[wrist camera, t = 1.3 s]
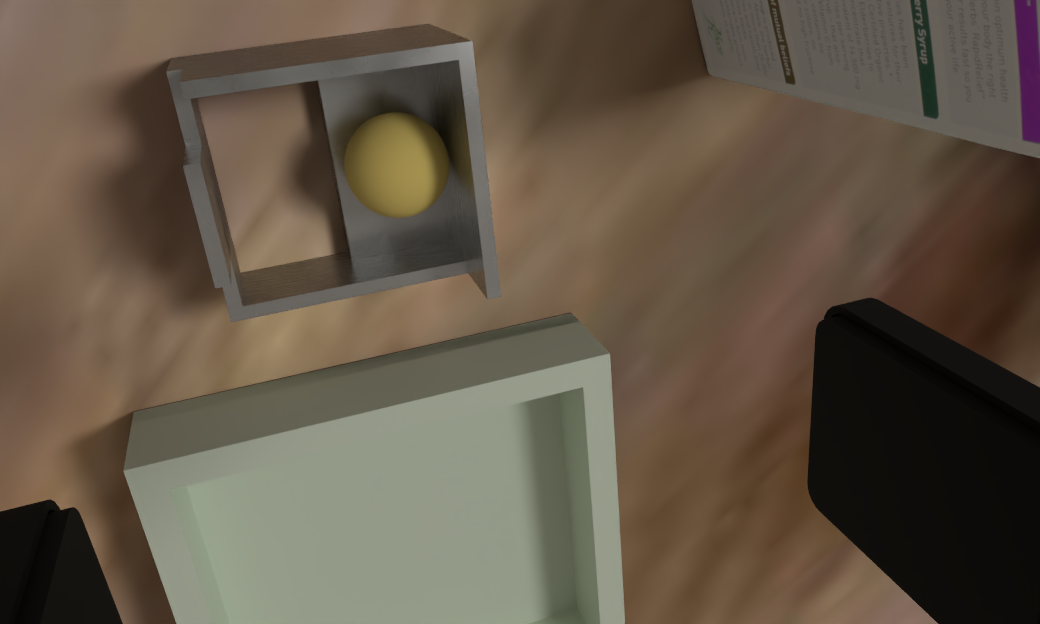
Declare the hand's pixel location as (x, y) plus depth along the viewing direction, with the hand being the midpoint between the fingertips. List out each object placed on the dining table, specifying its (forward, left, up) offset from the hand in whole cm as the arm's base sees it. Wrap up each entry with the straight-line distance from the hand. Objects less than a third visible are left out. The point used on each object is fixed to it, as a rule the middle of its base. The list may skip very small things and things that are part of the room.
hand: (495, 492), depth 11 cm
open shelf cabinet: (0, 0, -18) cm, 18 cm away
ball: (0, +2, -17) cm, 17 cm away
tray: (+14, 0, -18) cm, 23 cm away
